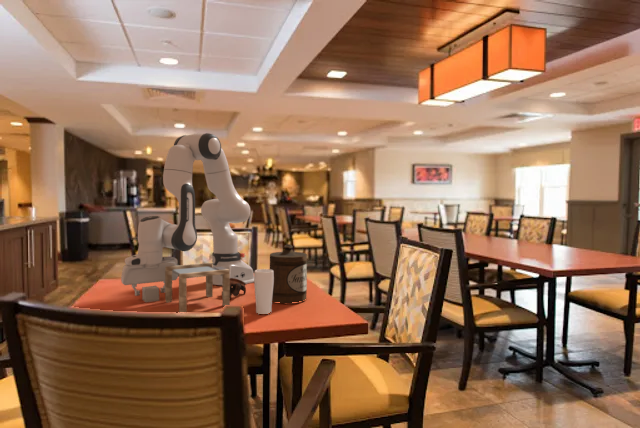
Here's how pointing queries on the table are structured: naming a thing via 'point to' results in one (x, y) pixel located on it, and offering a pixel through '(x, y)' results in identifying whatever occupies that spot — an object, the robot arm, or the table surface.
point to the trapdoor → (196, 270)
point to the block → (150, 293)
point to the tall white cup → (263, 290)
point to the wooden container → (289, 275)
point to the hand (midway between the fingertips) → (150, 293)
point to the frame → (196, 274)
